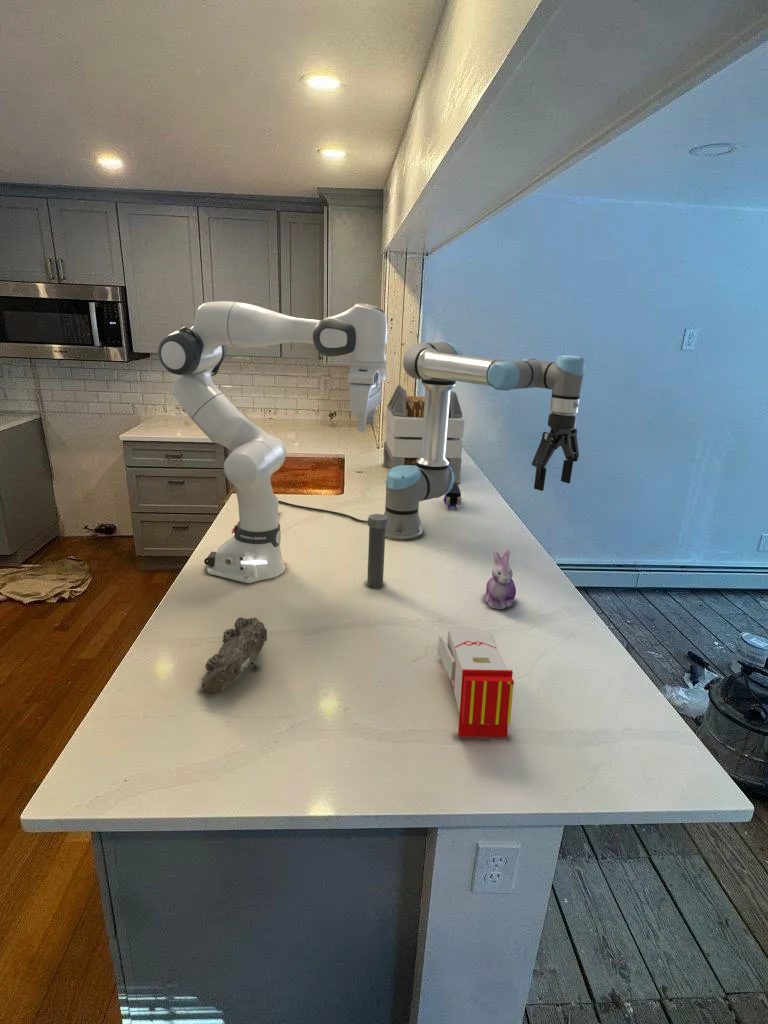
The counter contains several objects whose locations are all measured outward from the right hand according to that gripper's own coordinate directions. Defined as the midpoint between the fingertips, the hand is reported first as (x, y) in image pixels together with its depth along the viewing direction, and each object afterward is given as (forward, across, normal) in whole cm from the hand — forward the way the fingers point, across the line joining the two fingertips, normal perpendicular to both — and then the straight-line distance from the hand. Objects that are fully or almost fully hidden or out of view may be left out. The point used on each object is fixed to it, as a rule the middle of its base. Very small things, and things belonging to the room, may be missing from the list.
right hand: (552, 485), depth 166 cm
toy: (+28, -62, -26) cm, 72 cm away
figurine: (+28, -25, -5) cm, 38 cm away
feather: (+28, -40, +87) cm, 100 cm away
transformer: (+28, +46, +101) cm, 115 cm away
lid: (+8, -46, +24) cm, 53 cm away
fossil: (+28, -95, +11) cm, 100 cm away
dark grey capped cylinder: (+28, -46, +24) cm, 59 cm away
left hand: (-18, -50, +26) cm, 59 cm away
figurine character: (+28, +24, +59) cm, 70 cm away
